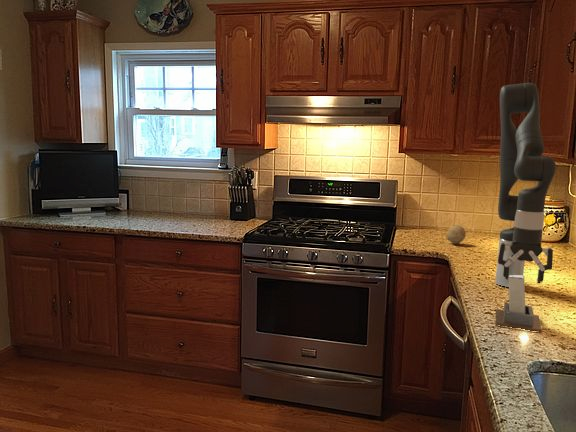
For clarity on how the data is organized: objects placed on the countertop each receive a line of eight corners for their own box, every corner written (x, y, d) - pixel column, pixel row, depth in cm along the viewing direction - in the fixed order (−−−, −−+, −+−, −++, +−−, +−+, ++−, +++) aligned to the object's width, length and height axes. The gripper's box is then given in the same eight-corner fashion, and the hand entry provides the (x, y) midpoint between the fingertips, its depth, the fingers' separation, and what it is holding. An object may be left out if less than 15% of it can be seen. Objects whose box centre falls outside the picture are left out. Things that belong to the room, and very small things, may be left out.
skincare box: (509, 314, 156) (507, 274, 155) (526, 315, 154) (524, 274, 153) (509, 319, 150) (507, 278, 150) (526, 320, 148) (524, 278, 148)
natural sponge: (466, 247, 256) (468, 227, 254) (447, 245, 257) (449, 226, 256) (463, 243, 265) (464, 224, 263) (445, 242, 266) (446, 223, 265)
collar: (495, 312, 160) (496, 299, 160) (538, 318, 156) (539, 305, 155) (495, 325, 148) (496, 312, 148) (541, 333, 144) (542, 319, 143)
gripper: (501, 225, 147) (496, 280, 149) (557, 230, 141) (551, 287, 144) (501, 221, 153) (496, 274, 156) (554, 226, 148) (548, 280, 151)
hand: (522, 280), depth 150 cm, fingers open, 8 cm apart
